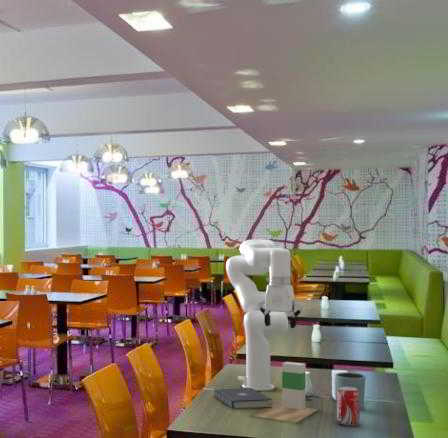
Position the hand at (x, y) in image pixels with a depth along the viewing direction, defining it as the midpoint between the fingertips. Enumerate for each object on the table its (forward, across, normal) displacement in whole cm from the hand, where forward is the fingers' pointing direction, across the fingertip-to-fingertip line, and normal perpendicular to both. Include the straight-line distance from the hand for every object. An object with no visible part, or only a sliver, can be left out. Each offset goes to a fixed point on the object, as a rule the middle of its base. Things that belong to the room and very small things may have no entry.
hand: (280, 326), depth 292 cm
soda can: (+28, +30, -18) cm, 45 cm away
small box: (+28, +17, +18) cm, 38 cm away
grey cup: (+28, +24, +6) cm, 38 cm away
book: (+28, -11, -10) cm, 32 cm away
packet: (+20, +8, -10) cm, 24 cm away
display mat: (+28, +8, -17) cm, 34 cm away
